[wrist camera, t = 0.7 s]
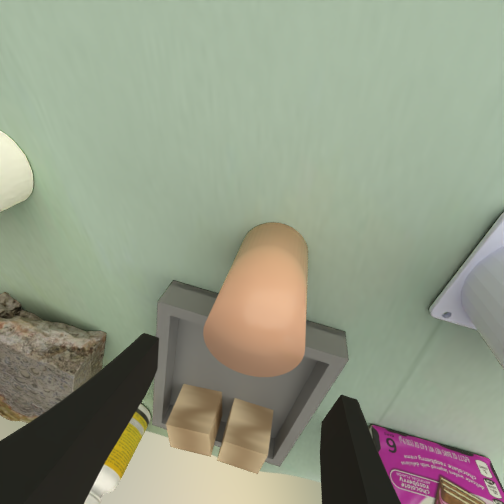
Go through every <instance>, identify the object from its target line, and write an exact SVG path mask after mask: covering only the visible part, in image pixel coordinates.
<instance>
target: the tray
mask: <svg viewBox="0 0 504 504" xmlns="http://www.w3.org/2000/svg"><path fill="white" fill-rule="evenodd" d="M217 296H218V293H214V292H211V291H208V290H204V289H201V288H198V287H194V286H191V285H188V284H184V283H181V282H178V281H174V280H173V281H172V283H171V284H170V285H169V287H168V288H167V289H166V291H165V292H164V294H163V295H162V296H161V298H160V299H159V300H158V308H157V330H156V337H158V338H159V350H158V369H157V372H156V374H155V376H154V397H153V419H152V425H154V426H157V427H160V428H163V429H166V430H167V428H166V423H167V421H168V418H169V416H170V414H171V411H172V409H173V407H174V405H175V402H176V400H177V398H178V396H179V393H180V391H181V389H182V386H183V384H187V385H191V386H196V387H201V388H206V389H210V390H215V391H220V392H222V418H221V421H220V425H219V429H218V432H217V436H216V439H215V443H214V445H215V446H218V447H221V443H222V439H223V436H224V432H225V428H226V424H227V420H228V417H229V414H230V411H231V408H232V405H233V402H234V399H235V398H237V399H240V400H243V401H246V402H249V403H252V404H255V405H259V406H262V407H265V408H268V409H271V410H274V411H273V419H272V427H271V435H270V443H269V451H268V456H267V458H266V460H265V462H267V463H270V464H273V465H276V466H279V467H280V466H281V464H282V462H283V461H284V459H285V458H286V456H287V455H288V453H289V452H290V450H291V448H292V447H293V445H294V444H295V442H296V441H297V439H298V438H299V436H300V435H301V433H302V431H303V430H304V428H305V427H306V425H307V424H308V422H309V421H310V419H311V417H312V416H313V414H314V413H315V411H316V410H317V408H318V407H319V405H320V403H321V402H322V400H323V399H324V397H325V396H326V394H327V393H328V391H329V390H330V388H331V386H332V385H333V383H334V382H335V380H336V379H337V377H338V376H339V374H340V372H341V371H342V369H343V368H344V366H345V365H346V363H347V362H348V360H349V358H348V350H347V342H346V334H345V332H344V331H341V330H338V329H334V328H331V327H328V326H324V325H321V324H318V323H314V322H311V321H308V320H306V337H305V353H304V356H303V359H302V361H301V362H300V363H299V365H298V366H297V367H295V368H294V369H293V370H291V371H290V372H288V373H285V374H282V375H279V376H274V377H254V376H249V375H245V374H242V373H239V372H236V371H234V370H232V369H230V368H228V367H226V366H225V365H223V364H222V363H221V362H219V361H218V360H217V359H216V358H215V357H214V356H213V355H212V354H211V352H210V351H209V349H208V348H207V346H206V344H205V341H204V336H203V329H204V325H205V322H206V320H207V318H208V316H209V314H210V312H211V309H212V307H213V305H214V303H215V301H216V299H217Z"/></svg>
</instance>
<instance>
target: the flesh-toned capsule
mask: <svg viewBox="0 0 504 504" xmlns="http://www.w3.org/2000/svg"><path fill="white" fill-rule="evenodd" d="M307 278H308V247H307V244H306V242H305V240H304V238H303V237H302V236H301V234H300V233H299V232H297V231H296V230H295V229H293V228H292V227H290V226H288V225H285V224H281V223H275V222H272V223H264V224H260V225H258V226H256V227H254V228H253V229H252V230H250V231H249V232H248V233H247V235H246V236H245V238H244V240H243V242H242V244H241V246H240V249H239V251H238V253H237V255H236V257H235V259H234V262H233V264H232V266H231V268H230V270H229V272H228V275H227V277H226V279H225V281H224V283H223V286H222V288H221V290H220V292H219V294H218V296H217V299H216V301H215V303H214V305H213V307H212V309H211V312H210V314H209V316H208V318H207V320H206V322H205V325H204V329H203V336H204V341H205V344H206V346H207V348H208V349H209V351H210V352H211V354H212V355H213V356H214V357H215V358H216V359H217V360H218V361H219V362H221V363H222V364H223V365H225V366H226V367H228V368H230V369H232V370H234V371H236V372H239V373H242V374H245V375H249V376H254V377H274V376H279V375H282V374H285V373H288V372H290V371H291V370H293V369H294V368H295V367H297V366H298V365H299V363H300V362H301V361H302V359H303V356H304V353H305V337H306V307H307Z"/></svg>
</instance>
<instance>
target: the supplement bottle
mask: <svg viewBox="0 0 504 504" xmlns="http://www.w3.org/2000/svg"><path fill="white" fill-rule="evenodd" d="M150 419H151V416H150V413H149V411H148V409H147V408H146V407H145V406H143V405H142V404H141V403H140V405H139V407H138V409H137V410H136V412H135V414H134V415H133V417H132V419H131V420H130V422H129V423H128V425H127V427H126V428H125V430H124V432H123V433H122V435H121V437H120V438H119V440H118V442H117V443H116V445H115V447H114V448H113V450H112V452H111V453H110V455H109V457H108V458H107V460H106V462H105V464H104V465H103V467H102V469H101V471H100V473H99V475H98V477H97V479H96V481H95V483H94V485H93V487H92V489H91V491H90V493H89V495H88V496H87V498H86V500H85V502H84V504H100V503H101V497H102V495H103V494H107V493H110V492H112V491H113V490H114V489H115V488H116V487H117V485H118V484H119V482H120V480H121V478H122V476H123V474H124V472H125V470H126V468H127V466H128V464H129V462H130V460H131V458H132V456H133V454H134V452H135V450H136V448H137V446H138V444H139V442H140V440H141V438H142V436H143V434H144V432H145V430H146V428H147V426H148V424H149V422H150Z"/></svg>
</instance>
